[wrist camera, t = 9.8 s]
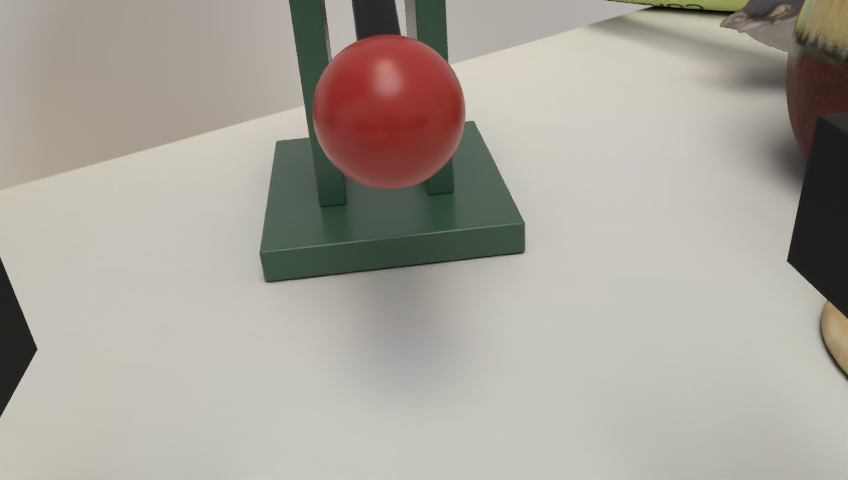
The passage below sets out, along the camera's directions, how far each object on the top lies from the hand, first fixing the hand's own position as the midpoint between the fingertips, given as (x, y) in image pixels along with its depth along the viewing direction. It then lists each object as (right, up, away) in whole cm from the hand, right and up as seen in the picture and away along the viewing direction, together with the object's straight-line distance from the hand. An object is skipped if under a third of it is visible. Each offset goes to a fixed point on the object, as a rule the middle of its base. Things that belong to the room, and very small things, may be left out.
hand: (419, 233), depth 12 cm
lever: (-1, +6, +10) cm, 12 cm away
